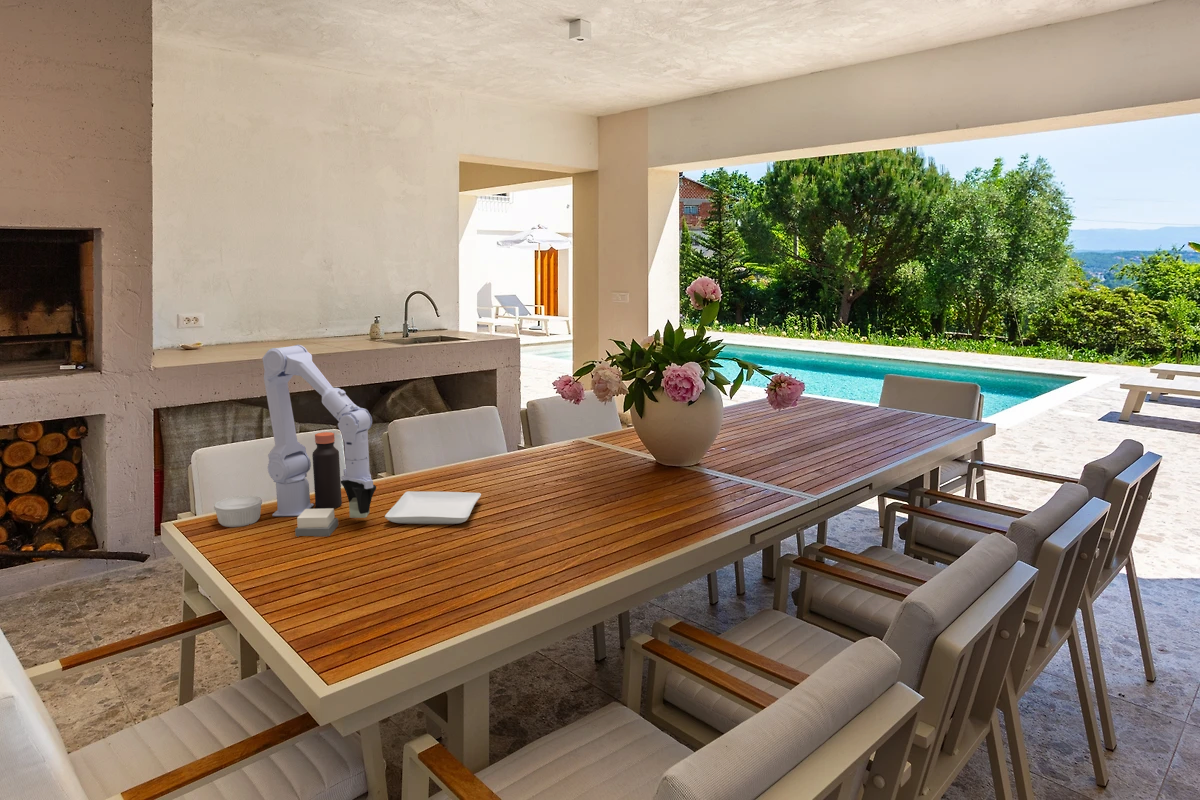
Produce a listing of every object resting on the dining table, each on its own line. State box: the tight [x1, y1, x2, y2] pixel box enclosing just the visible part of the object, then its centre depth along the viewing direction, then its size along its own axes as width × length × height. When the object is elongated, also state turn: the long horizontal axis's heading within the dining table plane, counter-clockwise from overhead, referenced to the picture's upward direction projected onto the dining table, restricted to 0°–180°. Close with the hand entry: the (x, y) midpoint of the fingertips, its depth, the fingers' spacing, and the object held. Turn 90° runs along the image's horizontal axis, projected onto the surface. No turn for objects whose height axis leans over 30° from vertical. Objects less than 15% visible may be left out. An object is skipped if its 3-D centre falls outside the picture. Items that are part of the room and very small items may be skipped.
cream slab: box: [296, 508, 336, 528], centre depth 193 cm, size 7×7×2 cm
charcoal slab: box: [294, 517, 339, 538], centre depth 194 cm, size 8×8×2 cm
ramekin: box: [213, 495, 263, 528], centre depth 200 cm, size 11×11×5 cm
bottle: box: [311, 431, 343, 509], centre depth 211 cm, size 7×7×20 cm
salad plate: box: [384, 490, 482, 525], centre depth 206 cm, size 21×21×3 cm
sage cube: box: [348, 498, 371, 519], centre depth 199 cm, size 4×4×4 cm
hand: (359, 509), depth 199 cm, fingers closed on sage cube, 6 cm apart
